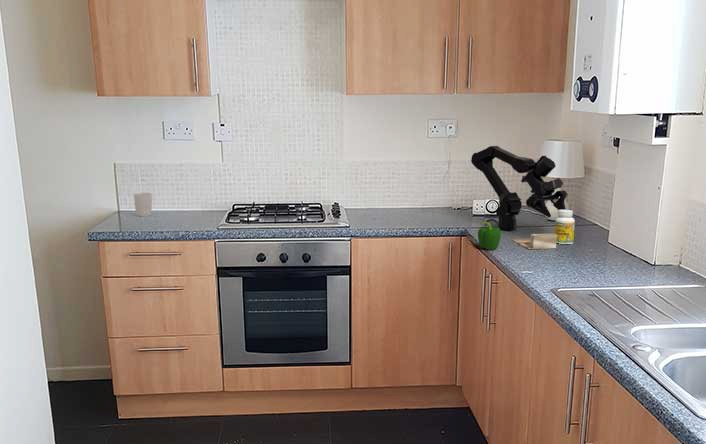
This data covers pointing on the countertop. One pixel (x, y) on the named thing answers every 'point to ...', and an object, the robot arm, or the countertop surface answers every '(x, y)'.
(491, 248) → the bell pepper
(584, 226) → the countertop surface
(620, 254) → the countertop surface
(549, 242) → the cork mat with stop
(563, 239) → the supplement bottle
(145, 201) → the white cup
